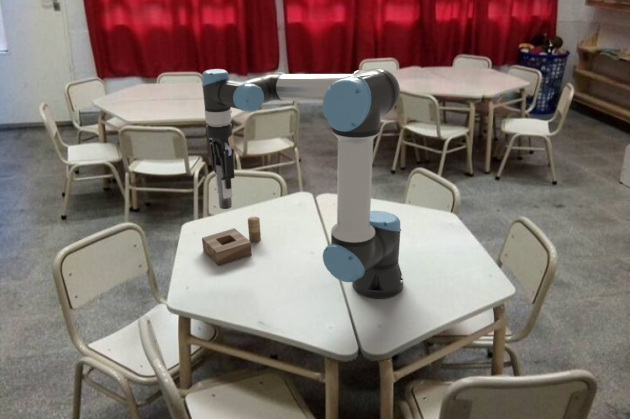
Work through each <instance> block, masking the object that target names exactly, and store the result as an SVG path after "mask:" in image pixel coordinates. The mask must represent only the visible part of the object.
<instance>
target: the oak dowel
mask: <svg viewBox="0 0 630 419" xmlns="http://www.w3.org/2000/svg"><path fill="white" fill-rule="evenodd" d="M247 227H248V240H249V241H250V242H251V243H253V244H255V243H259V242H260V241H261V240H262V236H261V223H260V217H258V216H249V218H247Z"/></svg>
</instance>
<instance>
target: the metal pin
mask: <svg viewBox="0 0 630 419" xmlns="http://www.w3.org/2000/svg"><path fill="white" fill-rule="evenodd" d="M216 173H217V185H218V193H217V195H218V204H219V208H220V209H221V210H229V209H231V208H232V207H233V201H232V200H233V199H232V197H230V198H226V199H224V198H223V186H222V180H221V178H223V173H222V167H221V163H219V164H217V165H216ZM216 173H215V174H216ZM217 185H216V186H217Z"/></svg>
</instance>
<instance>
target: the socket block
mask: <svg viewBox="0 0 630 419" xmlns="http://www.w3.org/2000/svg"><path fill="white" fill-rule="evenodd" d="M201 242H202V251H203V252H204V253H205V254H206V256H208V257H209V258H210V259H211V260H212V262H213V263H215V264H216V266H218V267H220V266H223V265H227V264H230V263H233V262H235V261H238V260H239V261H240V260H241V259H246V258H248V257H251V256H252V252H253V251H252V242H250V241H249V238H247V237H245V236H244V235H243V234H242V233H241V232H240V231H238V230H237V229H236V228H231V229H228V230H224V231H221V232H218V233H214V234H209V235H207V236H204V237H201Z"/></svg>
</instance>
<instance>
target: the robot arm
mask: <svg viewBox="0 0 630 419" xmlns="http://www.w3.org/2000/svg"><path fill="white" fill-rule="evenodd" d="M201 75H202V76H201V77H202V78H201V80H202V81H201V82H202V85H201V86H202V93H203V95H202V96H203V102H204V103H203V104H204V116H205V117H204V118H205V123H206V125H205V126H206V135H207V137H208V140H207V142H208V145H209V146H208V147H209V155H210V163H211V168H212V169H211V170H214V173H215V182H216V193H217V194H218V185H217V173H216V165H217V164H219V163H221V167H222V173H223V178H221V180H222V186H223V198H224V199H226V198H230V197H231V198H232V197H233V186H232V179H235V162H234V160H235V159H234V155H235V154H234V153H235V150H234V148H233V147H232V148H231V147H230V143H229V142H230V141H229V138H230V137H232V135H233V124H232V123H231V122H232V112H233V111H232V110H231V109H237V110H239V111H244V112H251V113H254V112H257V111H258V110H259V109H260V108H261V107H262V106H263V104H266V103H269V102H272V101H273V102H274V101H279V102H281V101H287V102H288V101H289V102H312V103H314V102H315V103H322V113H323V116H324V118H325V119H326V120H327V123H328V125H329V126H330V127H331V132H332V134H333V135H334V136H335V137H336V138H337V197H336V198H337V200H336V201H337V202H336V203H337V205H336V206H337V207H336V224H334V225H333V226H332V227H331V231H330V244H328V245H327V246H326V247H325V248H324V249H323V252H322V261H323V264H324V266H325V268H326V270H327V271H328V272H329V273H330V275H331V276H333V277H334V278H335V279H337V280H338V281H340V282H344V283H351V284H352V288H353V289H354V291H355V292H357V293H358V294H360V295H362V296H365V297H367V298H372V299H388V298H392V297H394V296H397V295H398V294H400V293H401V292H402V290H403V288H404V277H403V273H402V270H401V267H400V263H399V257H400V244H401V243H400V242H401V231H402V228H401V219H400V218H399V217H398V216H397V215H396V214H394V213H391V212H387V211H384V210H371V206H372V204H371V202H372V181H373V179H372V178H373V177H372V176H373V174H372V173H373V155H374V154H373V152H374V151H373V150H374V139H375V138H376V137H377V136H378V135H379V134H380V133H381V118H382V117H383V116H386V115H387V114H389V113H390V112H391V111H392V110H394V108H396V106H397V105H398V102H399V100H400V97H401V96H400V95H401V88H400V84H399V81H398V80H397V78H396V76H395V75H394V74H393V73H392V72H390V71H389V70H387V69H384V68H372V69H357V70H356V71H354V73H352V74H351V73H310V74H309V73H307V74H306V73H294V74H293V73H287V74H286V73H285V72H283V71H278V72H271V73H269V74H266V75H262V76H258V77H254V78H251V79H246V80H243V81H239V80H238V81H237V80H232V79H230V76H229V72H228V71H227V70H225V69H221V68H214V69H213V68H211V69H207V70H205V71H203V72H202V74H201Z"/></svg>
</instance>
